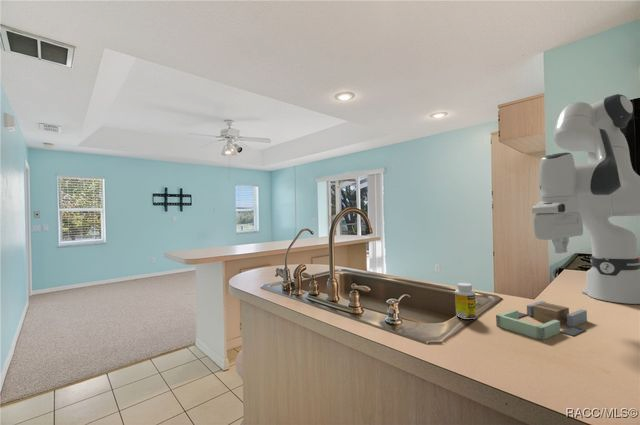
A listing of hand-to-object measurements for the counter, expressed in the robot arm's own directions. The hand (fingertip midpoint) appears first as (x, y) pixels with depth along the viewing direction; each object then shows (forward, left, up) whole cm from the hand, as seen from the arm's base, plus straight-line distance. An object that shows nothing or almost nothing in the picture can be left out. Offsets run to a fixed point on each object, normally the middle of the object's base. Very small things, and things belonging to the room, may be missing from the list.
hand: (561, 252), depth 89 cm
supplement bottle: (+25, -15, -19) cm, 34 cm away
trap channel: (+12, 0, -19) cm, 22 cm away
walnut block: (+7, 0, -19) cm, 20 cm away
